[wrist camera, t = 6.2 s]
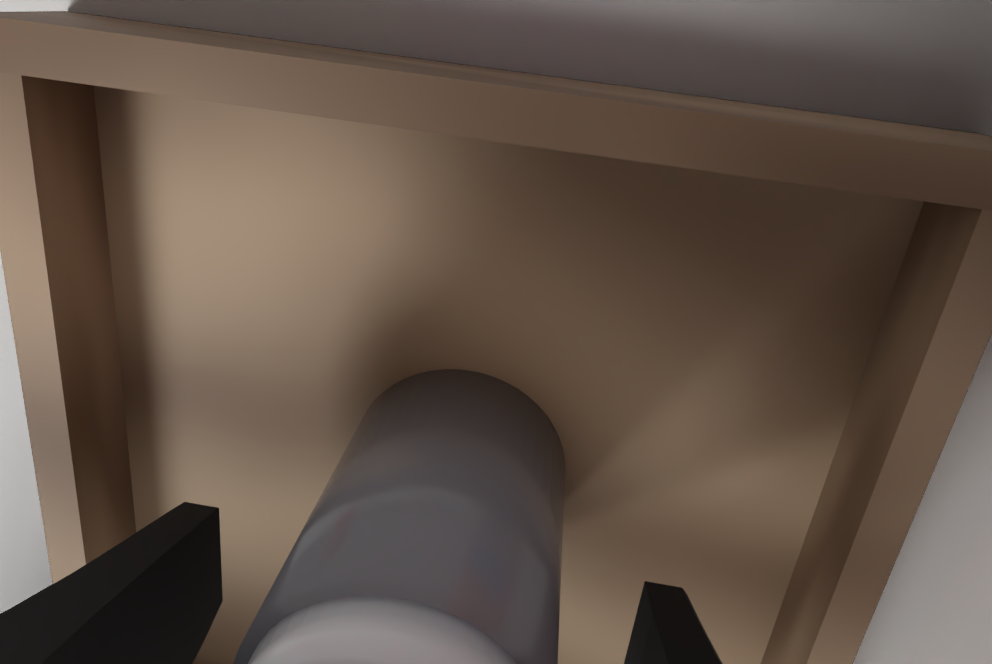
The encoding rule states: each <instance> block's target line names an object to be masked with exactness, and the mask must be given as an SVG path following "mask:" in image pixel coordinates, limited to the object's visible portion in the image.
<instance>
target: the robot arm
mask: <svg viewBox="0 0 992 664" xmlns="http://www.w3.org/2000/svg"><path fill="white" fill-rule="evenodd" d="M222 601H223V594H222V569H221V544H220V518H219V508H218V507H212V506H206V505H200V504H194V503H189V502H183V503H182V504H180V505H178V506H177V507H175V508H174V509H172V510H170V511H169V512H167V513H166V514H164V515H163V516H161V517H159V518H158V519H156V520H155V521H153V522H152V523H150V524H149V525H147V526H146V527H144V528H142V529H141V530H139V531H138V532H136V533H135V534H133V535H132V536H130V537H129V538H127V539H125V540H124V541H122V542H121V543H119V544H118V545H116V546H115V547H113V548H111V549H110V550H108V551H107V552H105V553H103V554H102V555H100V556H99V557H97V558H95V559H94V560H92V561H91V562H89V563H87V564H86V565H84V566H83V567H81V568H80V569H78V570H76V571H75V572H73V573H71V574H70V575H68V576H66V577H64V578H63V579H61V580H59V581H58V582H56V583H54V584H52V585H51V586H49V587H47V588H45V589H44V590H42V591H40V592H38V593H37V594H35V595H33V596H31V597H30V598H28V599H26V600H24V601H23V602H21V603H19V604H18V605H16V606H14V607H12V608H11V609H9V610H7V611H5V612H3V613H1V614H0V664H192V663H193V661H194V660H195V658H196V656H197V654H198V652H199V650H200V648H201V646H202V644H203V642H204V640H205V638H206V636H207V634H208V632H209V630H210V627H211V625H212V623H213V621H214V619H215V617H216V614H217V612H218V610H219V608H220V606H221V603H222ZM624 664H722V662H721V660H720V658H719V656H718V654H717V653H716V651H715V649H714V647H713V645H712V643H711V641H710V639H709V638H708V636H707V634H706V632H705V630H704V628H703V626H702V624H701V622H700V620H699V618H698V616H697V614H696V612H695V610H694V608H693V606H692V604H691V601H690V599H689V597H688V595H687V594H686V592H685V591H684V589H683V588H682V587H676V586H670V585H664V584H658V583H653V582H647V581H645V582H644V586H643V590H642V594H641V598H640V602H639V606H638V610H637V614H636V617H635V621H634V625H633V629H632V633H631V637H630V641H629V645H628V649H627V653H626V657H625V661H624Z"/></svg>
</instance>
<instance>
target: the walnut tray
mask: <svg viewBox="0 0 992 664" xmlns="http://www.w3.org/2000/svg"><path fill="white" fill-rule="evenodd" d="M0 251H1V257H2V264H3V270H4V276H5V283H6V289H7V295H8V302H9V308H10V315H11V321H12V327H13V334H14V340H15V346H16V353H17V359H18V365H19V372H20V378H21V385H22V391H23V397H24V404H25V410H26V416H27V423H28V429H29V436H30V442H31V448H32V455H33V461H34V467H35V474H36V480H37V486H38V493H39V499H40V506H41V512H42V518H43V525H44V531H45V537H46V544H47V550H48V557H49V563H50V569H51V576H52V582H53V584H54V583H56V582H58V581H59V580H61V579H63V578H64V577H66V576H68V575H70V574H71V573H73V572H75V571H76V570H78V569H80V568H81V567H83V566H84V565H86V564H87V563H89V562H91V561H92V560H94V559H95V558H97V557H99V556H100V555H102V554H103V553H105V552H107V551H108V550H110V549H111V548H113V547H115V546H116V545H118V544H119V543H121V542H122V541H124V540H125V539H127V538H129V537H130V536H132V535H133V534H135V533H136V532H138V531H139V530H141V529H142V528H144V527H146V526H147V525H149V524H150V523H152V522H153V521H155V520H156V519H158V518H159V517H161V516H163V515H164V514H166V513H167V512H169V511H170V510H172V509H174V508H175V507H177V506H178V505H180V504H182V503H183V502H189V503H194V504H200V505H206V506H212V507H218V508H219V518H220V544H221V569H222V594H223V601H222V603H221V606H220V608H219V610H218V612H217V614H216V617H215V619H214V621H213V623H212V625H211V627H210V630H209V632H208V634H207V636H206V638H205V640H204V642H203V644H202V646H201V648H200V650H199V652H198V654H197V656H196V658H195V660H194V661H193V663H192V664H234V660H235V657H236V654H237V651H238V648H239V646H240V645H241V643H242V641H243V639H244V637H245V635H246V633H247V632H248V630H249V628H250V626H251V624H252V622H253V620H254V619H255V617H256V615H257V613H258V611H259V609H260V607H261V606H262V604H263V602H264V600H265V598H266V596H267V594H268V593H269V591H270V589H271V587H272V585H273V583H274V581H275V580H276V578H277V576H278V574H279V572H280V570H281V568H282V567H283V565H284V563H285V561H286V559H287V557H288V555H289V554H290V552H291V550H292V548H293V546H294V544H295V542H296V541H297V539H298V537H299V535H300V533H301V531H302V529H303V528H304V526H305V524H306V522H307V520H308V518H309V516H310V515H311V513H312V511H313V509H314V507H315V505H316V503H317V502H318V500H319V498H320V496H321V494H322V492H323V490H324V489H325V487H326V485H327V483H328V481H329V479H330V477H331V476H332V474H333V472H334V470H335V468H336V466H337V464H338V463H339V461H340V459H341V457H342V455H343V453H344V451H345V450H346V448H347V446H348V444H349V442H350V440H351V438H352V437H353V435H354V433H355V431H356V429H357V427H358V425H359V424H360V422H361V420H362V418H363V416H364V414H365V413H366V411H367V409H368V408H369V407H370V405H371V404H372V403H373V402H374V400H375V399H376V398H377V397H378V396H380V395H381V394H382V393H383V392H384V391H385V390H387V389H388V388H389V387H391V386H392V385H394V384H396V383H397V382H399V381H401V380H403V379H405V378H408V377H410V376H413V375H416V374H419V373H423V372H428V371H432V370H443V369H459V370H468V371H474V372H479V373H483V374H486V375H490V376H493V377H495V378H498V379H500V380H503V381H505V382H507V383H508V384H510V385H512V386H514V387H516V388H517V389H519V390H520V391H522V392H523V393H524V394H526V395H527V396H529V397H530V398H531V399H532V400H533V401H534V402H535V403H536V404H537V405H538V406H539V407H540V408H541V409H542V410H543V411H544V413H545V414H546V415H547V416H548V418H549V419H550V421H551V422H552V424H553V426H554V427H555V429H556V431H557V433H558V436H559V438H560V440H561V444H562V447H563V451H564V457H565V494H564V518H563V543H562V567H561V592H560V617H559V641H558V664H624V661H625V657H626V653H627V649H628V645H629V641H630V637H631V633H632V629H633V625H634V621H635V617H636V614H637V610H638V606H639V602H640V598H641V594H642V590H643V586H644V582H645V581H647V582H653V583H658V584H664V585H670V586H676V587H682V588H683V589H684V591H685V592H686V594H687V595H688V597H689V599H690V601H691V604H692V606H693V608H694V610H695V612H696V614H697V616H698V618H699V620H700V622H701V624H702V626H703V628H704V630H705V632H706V634H707V636H708V638H709V639H710V641H711V643H712V645H713V647H714V649H715V651H716V653H717V654H718V656H719V658H720V660H721V662H722V664H853V661H854V659H855V656H856V654H857V652H858V649H859V647H860V645H861V642H862V640H863V637H864V635H865V633H866V630H867V628H868V626H869V623H870V621H871V618H872V616H873V614H874V611H875V609H876V606H877V604H878V602H879V599H880V597H881V595H882V592H883V590H884V587H885V585H886V583H887V580H888V578H889V576H890V573H891V571H892V568H893V566H894V564H895V561H896V559H897V557H898V554H899V552H900V549H901V547H902V545H903V542H904V540H905V538H906V535H907V533H908V530H909V528H910V526H911V523H912V521H913V519H914V516H915V514H916V511H917V509H918V507H919V504H920V502H921V500H922V497H923V495H924V492H925V490H926V488H927V485H928V483H929V480H930V478H931V476H932V473H933V471H934V469H935V466H936V464H937V461H938V459H939V457H940V454H941V452H942V450H943V447H944V445H945V442H946V440H947V438H948V435H949V433H950V431H951V428H952V426H953V423H954V421H955V419H956V416H957V414H958V412H959V409H960V407H961V404H962V402H963V400H964V397H965V395H966V393H967V390H968V388H969V385H970V383H971V381H972V378H973V376H974V374H975V371H976V369H977V366H978V364H979V362H980V359H981V357H982V355H983V352H984V350H985V347H986V345H987V343H988V340H989V338H990V335H991V333H992V137H989V136H986V135H983V134H977V133H970V132H962V131H955V130H947V129H940V128H932V127H925V126H917V125H910V124H902V123H895V122H888V121H880V120H873V119H865V118H858V117H850V116H843V115H835V114H828V113H820V112H813V111H805V110H798V109H791V108H783V107H776V106H768V105H761V104H753V103H746V102H738V101H731V100H723V99H716V98H708V97H701V96H693V95H686V94H679V93H671V92H664V91H656V90H649V89H641V88H634V87H626V86H619V85H611V84H604V83H596V82H589V81H581V80H574V79H567V78H559V77H552V76H544V75H537V74H529V73H522V72H514V71H507V70H499V69H492V68H484V67H477V66H469V65H462V64H455V63H447V62H440V61H432V60H425V59H417V58H410V57H402V56H395V55H387V54H380V53H372V52H365V51H357V50H350V49H343V48H335V47H328V46H320V45H313V44H305V43H298V42H290V41H283V40H275V39H268V38H260V37H253V36H245V35H238V34H231V33H223V32H216V31H208V30H201V29H193V28H186V27H178V26H171V25H163V24H156V23H148V22H141V21H133V20H126V19H119V18H111V17H104V16H96V15H89V14H81V13H74V12H66V11H46V12H0Z"/></svg>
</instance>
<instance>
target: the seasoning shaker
mask: <svg viewBox="0 0 992 664" xmlns="http://www.w3.org/2000/svg"><path fill="white" fill-rule="evenodd" d="M564 494H565V457H564V451H563V447H562V444H561V440H560V438H559V436H558V433H557V431H556V429H555V427H554V426H553V424H552V422H551V421H550V419H549V418H548V416H547V415H546V414H545V413H544V411H543V410H542V409H541V408H540V407H539V406H538V405H537V404H536V403H535V402H534V401H533V400H532V399H531V398H530V397H529V396H527V395H526V394H524V393H523V392H522V391H520V390H519V389H517V388H516V387H514V386H512V385H510V384H508V383H507V382H505V381H503V380H500V379H498V378H495V377H493V376H490V375H486V374H483V373H479V372H474V371H468V370H459V369H443V370H432V371H428V372H423V373H419V374H416V375H413V376H410V377H408V378H405V379H403V380H401V381H399V382H397V383H396V384H394V385H392V386H391V387H389V388H388V389H387V390H385V391H384V392H383V393H382V394H381V395H380V396H378V397H377V398H376V399H375V400H374V402H373V403H372V404H371V405H370V407H369V408H368V409H367V411H366V413H365V414H364V416H363V418H362V420H361V422H360V424H359V425H358V427H357V429H356V431H355V433H354V435H353V437H352V438H351V440H350V442H349V444H348V446H347V448H346V450H345V451H344V453H343V455H342V457H341V459H340V461H339V463H338V464H337V466H336V468H335V470H334V472H333V474H332V476H331V477H330V479H329V481H328V483H327V485H326V487H325V489H324V490H323V492H322V494H321V496H320V498H319V500H318V502H317V503H316V505H315V507H314V509H313V511H312V513H311V515H310V516H309V518H308V520H307V522H306V524H305V526H304V528H303V529H302V531H301V533H300V535H299V537H298V539H297V541H296V542H295V544H294V546H293V548H292V550H291V552H290V554H289V555H288V557H287V559H286V561H285V563H284V565H283V567H282V568H281V570H280V572H279V574H278V576H277V578H276V580H275V581H274V583H273V585H272V587H271V589H270V591H269V593H268V594H267V596H266V598H265V600H264V602H263V604H262V606H261V607H260V609H259V611H258V613H257V615H256V617H255V619H254V620H253V622H252V624H251V626H250V628H249V630H248V632H247V633H246V635H245V637H244V639H243V641H242V643H241V645H240V646H239V648H238V651H237V654H236V657H235V660H234V664H558V641H559V617H560V592H561V567H562V543H563V518H564Z"/></svg>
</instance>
